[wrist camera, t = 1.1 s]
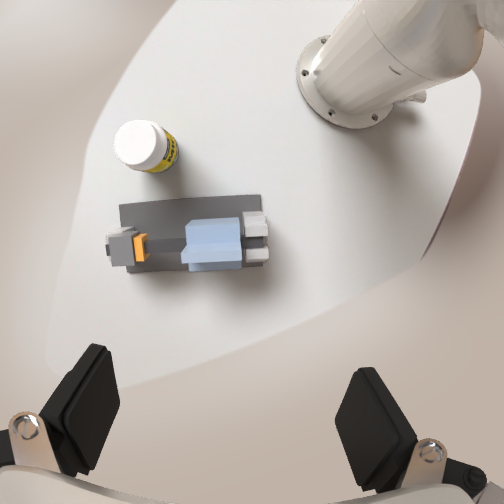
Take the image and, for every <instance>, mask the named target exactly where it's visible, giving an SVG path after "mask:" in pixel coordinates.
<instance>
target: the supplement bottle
mask: <svg viewBox="0 0 504 504" xmlns="http://www.w3.org/2000/svg"><path fill="white" fill-rule="evenodd" d="M114 151H115V154H116V156H117V157H118V159H119V160H120V161H121V162H123V163H125V164H126V165H127V166H128V167H129V168H131V169H133V170H137V171H143V172H151V173H160V172H164V171H166V170H168V169H169V168H170V167H171V166H172V165H173V164H174V163H175V161H176V159H177V156H178V145H177V142H176V140H175V139H174V137H173V136H172V135H171V134H169V133H168V132H167V131H166V130H164V129H163V128H162V127H161V126H159V125H158V124H156V123H154V122H150V121H143V120H133V121H130V122H128V123H126V124H125V125H123V126H122V127H121V128H120V129H119V131H118V132H117V134H116V136H115V140H114Z"/></svg>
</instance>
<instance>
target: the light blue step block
mask: <svg viewBox="0 0 504 504" xmlns="http://www.w3.org/2000/svg"><path fill="white" fill-rule="evenodd" d="M185 229H186V242H187V245H186V247H185V248H184V250H183V251H182V252H181V260H182V263H189V272H192V271H213V270H232V269H242V264H241V260H242V250H241V243H240V223H239V217H234V218H216V219H199V220H191V221H190V222H189V223H188V224H187V225H186V226H185Z"/></svg>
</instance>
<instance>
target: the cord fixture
mask: <svg viewBox="0 0 504 504" xmlns="http://www.w3.org/2000/svg"><path fill="white" fill-rule="evenodd" d="M119 210H120V221H121V228H119V229H116V230H114V231H112V232H110V233H108V234H106V242H107V244H106V252H107V256H109V261H111V262H112V267H113V266H126V268H127V272H152V271H175V270H189V263H182V260H181V252H182V251H183V250H184V248H185V247H186V245H187V242H186V229H185V226H186V225H187V224H188V223H189V222H190V221H191V220H199V219H216V218H234V217H239V223H240V243H241V250H242V260H241V264H242V267H254V266H263V263H262V262H264V261H267V259H269V251H268V247H267V245H266V236H268V225H267V224H266V216H265V215H264V214H263V213H262V212H261V200H260V195H236V196H217V197H201V198H187V199H174V200H162V201H151V202H140V203H130V204H121V205H119Z"/></svg>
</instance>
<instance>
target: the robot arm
mask: <svg viewBox="0 0 504 504" xmlns="http://www.w3.org/2000/svg"><path fill="white" fill-rule="evenodd" d="M484 29H485V30H487V31H489V32H490V33H491V34H492V35H493V36H494V37H495V38H496V39H497V40H498V42H499V43H500V44H501V45H502V46H503V48H504V0H358V1H357V2H356V3H355V5H354V6H353V7H352V8H351V10H350V11H349V12H348V13H347V15H346V16H345V17H344V19H343V20H342V21H341V23H340V24H339V25H338V27H337V28H336V29H335V31H334V32H333V33H332V35H326V36H322V37H319V38H317V39H315V40H313V41H312V42H310V43H309V44H308V45H307V46H306V47H305V49H304V50H303V52H302V53H301V55H300V58H299V60H298V64H297V80H298V85H299V88H300V90H301V92H302V94H303V96H304V98H305V99H306V101H307V102H308V104H309V105H310V106H311V107H312V108H313V109H314V110H315V111H316V112H317V113H318V114H319V115H321V116H322V117H323V118H324V119H326V120H328V121H330V122H331V123H333V124H336V125H339V126H341V127H346V128H351V129H362V128H366V127H370V126H373V125H375V124H377V123H379V122H381V121H382V120H383V119H384V118H385V117H386V116H387V115H388V114H389V112H390V111H391V109H392V107H393V104H394V102H396V101H398V100H400V101H403V100H405V99H409V100H411V101H414V102H419V103H424V102H425V101H426V92H425V90H426V89H428V88H431V87H434V86H436V85H439V84H442V83H444V82H447V81H449V80H452V79H455V78H458V77H460V76H462V75H464V74H466V73H467V72H469V71H470V70H471V69H472V68H473V67H474V66H475V64H476V63H477V61H478V59H479V57H480V54H481V51H482V46H483V38H484ZM322 43H323V44H322ZM302 74H305V76H303V75H302ZM328 112H329V113H331V116H330V115H329V114H328ZM372 118H373V119H372ZM119 406H120V399H119V394H118V389H117V384H116V379H115V373H114V368H113V362H112V356H111V352H110V351H108V350H107V348H106V347H105V346H102V345H98V344H93V343H92V344H91V345H90V346H89V347H88V348H87V350H86V351H85V352H84V354H83V355H82V357H81V358H80V359H79V361H78V362H77V363H76V365H75V366H74V368H73V369H72V370H71V371H69V372H68V373H67V374H66V375H65V377H64V378H63V380H62V381H61V382H60V384H59V385H58V387H57V388H56V390H55V391H54V392H53V394H52V395H51V397H50V398H49V400H48V401H47V403H46V404H45V406H44V407H43V409H42V410H41V412H40V413H39V415H37V414H35V413H32V412H21V413H18V414H16V415H15V416H13V418H12V419H11V420H10V423H9V429H6V430H2V431H0V504H176V503H169V502H164V501H158V500H152V499H148V498H143V497H139V496H134V495H131V494H126V493H123V492H118V491H115V490H111V489H108V488H104V487H101V486H97V485H95V484H91V483H88V482H86V481H82V480H80V479H76V478H75V477H76V475H77V473H78V472H79V473H82V474H85V475H88V474H89V471H90V470H94V469H95V466H96V464H97V461H98V459H99V456H100V453H101V451H102V448H103V446H104V443H105V441H106V438H107V436H108V433H109V431H110V428H111V426H112V424H113V421H114V419H115V416H116V414H117V412H118V409H119ZM335 425H336V428H337V430H338V433H339V436H340V438H341V441H342V444H343V447H344V450H345V452H346V455H347V457H348V461H349V463H350V466H351V469H352V472H353V475H354V478H355V480H356V483H357V485H358V486H361V487H362V490H363V492H364V491H368V490H372V489H375V490H376V493H377V494H376V495H372V496H367V497H363V498H358V499H353V500H347V501H342V502H337V503H331V504H504V489H502V488H501V487H499V486H498V485H496V484H494V483H493V482H491V481H490V482H489V483H487V478H486V475H485V473H484V472H483V471H482V470H481V469H480V468H477V467H475V466H471V465H468V464H465V463H462V462H459V461H456V460H452V459H450V458H447V451H446V448H445V447H444V445H443V444H442V443H440V442H439V441H437V440H435V439H430V438H427V439H423V440H420V441H418V440H417V435H416V434H415V432H414V430H413V429H412V427H411V425H410V424H409V422H408V420H407V419H406V417H405V416H404V414H403V412H402V411H401V409H400V407H399V406H398V404H397V403H396V401H395V400H394V398H393V396H392V395H391V393H390V392H389V390H388V389H387V387H386V386H385V384H384V382H383V381H382V379H381V378H380V376H379V374H378V373H377V372H376V370H375V369H374V368H373V367H364V368H359V369H358V370H357V371H356V372H354V374H353V376H352V378H351V381H350V384H349V386H348V389H347V391H346V393H345V396H344V398H343V401H342V403H341V405H340V408H339V410H338V412H337V415H336V417H335Z"/></svg>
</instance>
